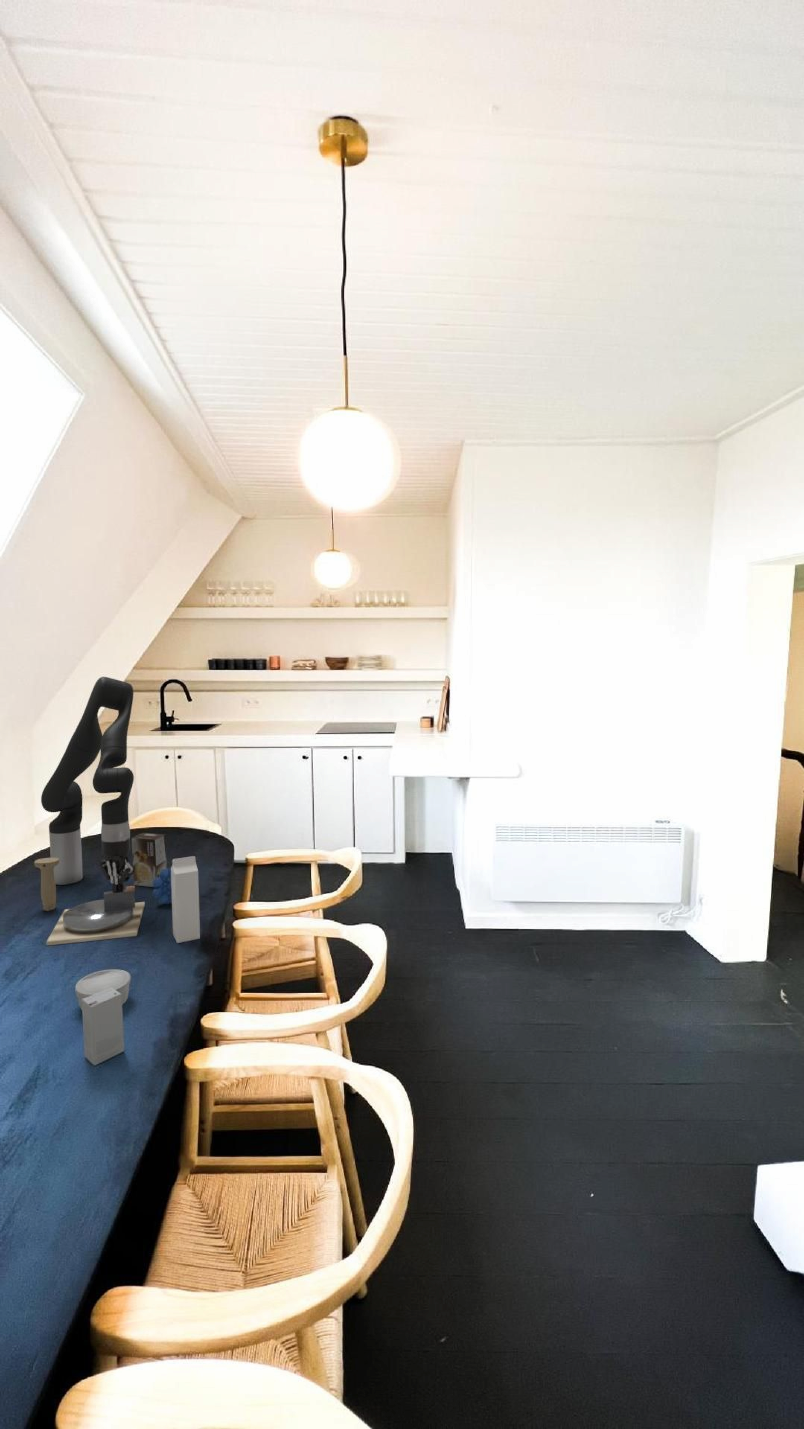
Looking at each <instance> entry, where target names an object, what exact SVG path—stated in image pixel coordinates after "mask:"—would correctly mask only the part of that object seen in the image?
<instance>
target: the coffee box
mask: <svg viewBox="0 0 804 1429" xmlns="http://www.w3.org/2000/svg"><path fill="white" fill-rule="evenodd" d="M166 841H167V838H166V834H160V833H152V832H151V833H149V832H142V833H141V832H140V833H139V834H136V835H134V836H133V837H131V851H132V866H135V870H134V872H133V874H132V875H133V886H138V887H139V886H140V887H141V886H142V887H151V888H155V887H154V886H153V881H154V880H155V879H156V878H158V877H160V873H161V871H162V870H163V869H166V868H168V864H167V863H168V862H167V860H168V859H167V842H166Z"/></svg>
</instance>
